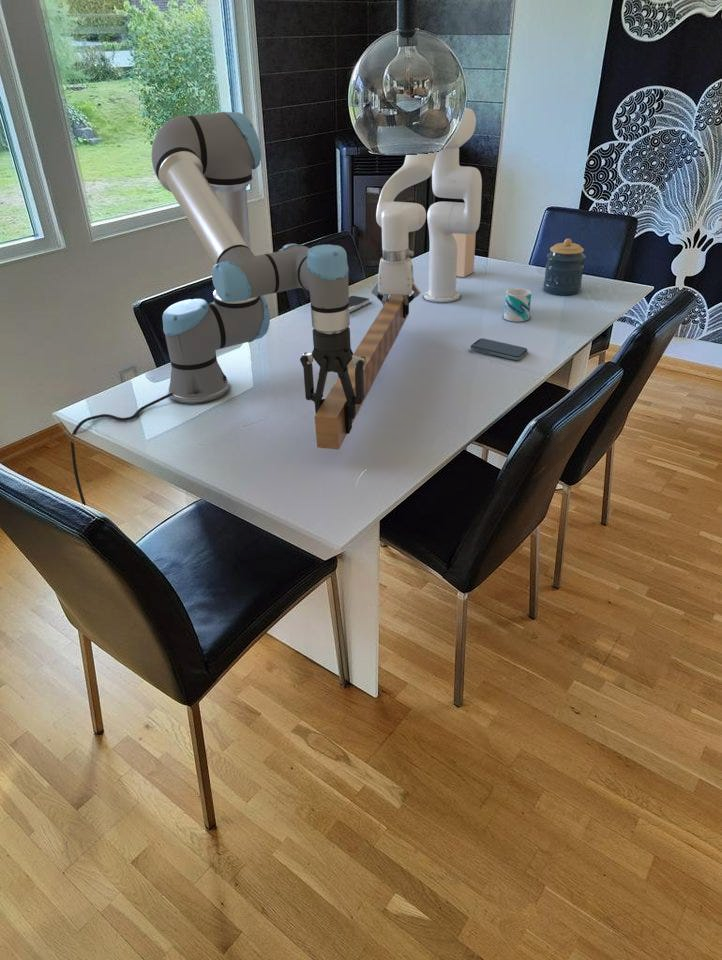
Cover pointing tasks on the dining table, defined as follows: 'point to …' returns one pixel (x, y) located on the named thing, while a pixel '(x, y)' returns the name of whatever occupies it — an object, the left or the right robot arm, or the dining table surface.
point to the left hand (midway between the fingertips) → (336, 429)
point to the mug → (517, 304)
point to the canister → (564, 268)
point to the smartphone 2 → (499, 349)
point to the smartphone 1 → (357, 302)
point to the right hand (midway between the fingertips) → (396, 315)
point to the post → (375, 352)
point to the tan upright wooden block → (465, 253)
